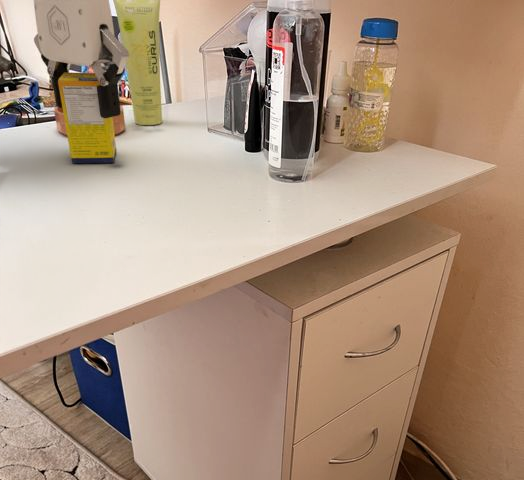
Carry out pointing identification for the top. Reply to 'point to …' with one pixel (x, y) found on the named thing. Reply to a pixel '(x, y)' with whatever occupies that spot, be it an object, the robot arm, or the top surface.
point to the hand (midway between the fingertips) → (88, 110)
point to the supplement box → (86, 120)
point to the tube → (142, 56)
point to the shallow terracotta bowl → (117, 120)
